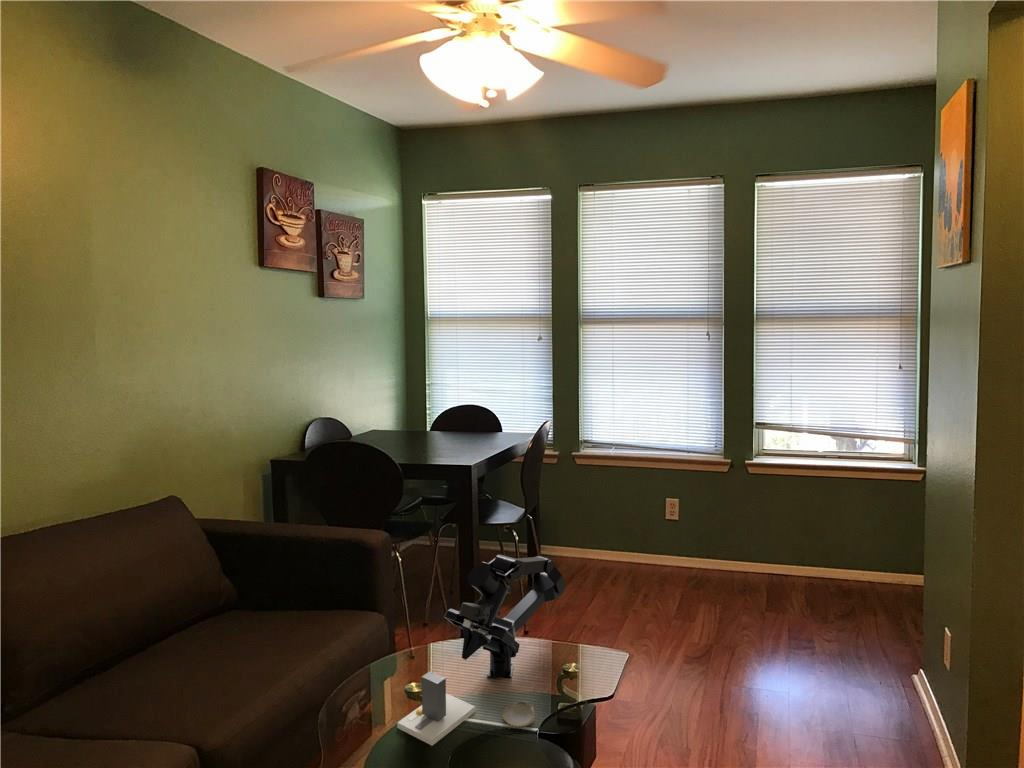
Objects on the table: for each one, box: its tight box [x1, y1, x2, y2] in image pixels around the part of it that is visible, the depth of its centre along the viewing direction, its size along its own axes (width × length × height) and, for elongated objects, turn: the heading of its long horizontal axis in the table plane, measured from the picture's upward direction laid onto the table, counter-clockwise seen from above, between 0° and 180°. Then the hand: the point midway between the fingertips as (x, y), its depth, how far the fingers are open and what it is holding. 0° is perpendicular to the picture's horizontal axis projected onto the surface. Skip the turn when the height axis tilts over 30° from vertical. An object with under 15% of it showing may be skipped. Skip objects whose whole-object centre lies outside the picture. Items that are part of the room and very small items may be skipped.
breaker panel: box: [397, 693, 476, 747], centre depth 197 cm, size 16×11×2 cm
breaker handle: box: [421, 670, 447, 721], centre depth 195 cm, size 3×5×10 cm, turn 54°
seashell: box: [501, 700, 536, 728], centre depth 198 cm, size 8×3×8 cm
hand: (463, 658), depth 203 cm, fingers closed
